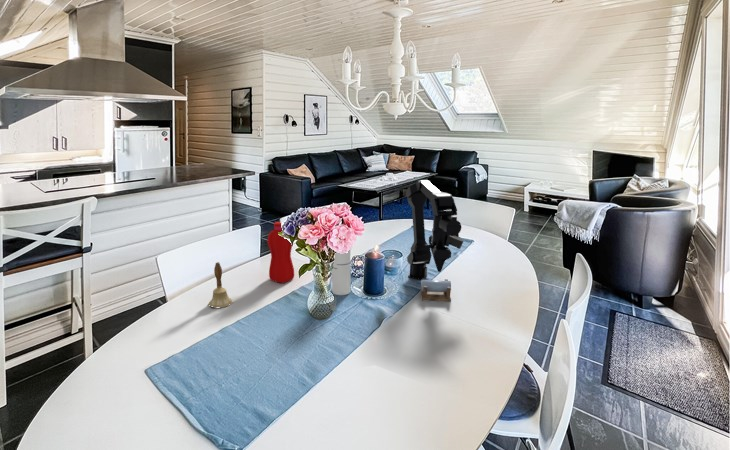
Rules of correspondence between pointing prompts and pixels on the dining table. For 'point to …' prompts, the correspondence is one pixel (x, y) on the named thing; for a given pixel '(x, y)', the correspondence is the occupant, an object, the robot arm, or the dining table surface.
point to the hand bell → (219, 290)
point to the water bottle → (280, 256)
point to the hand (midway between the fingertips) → (437, 267)
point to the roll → (435, 285)
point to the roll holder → (436, 294)
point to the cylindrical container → (341, 274)
